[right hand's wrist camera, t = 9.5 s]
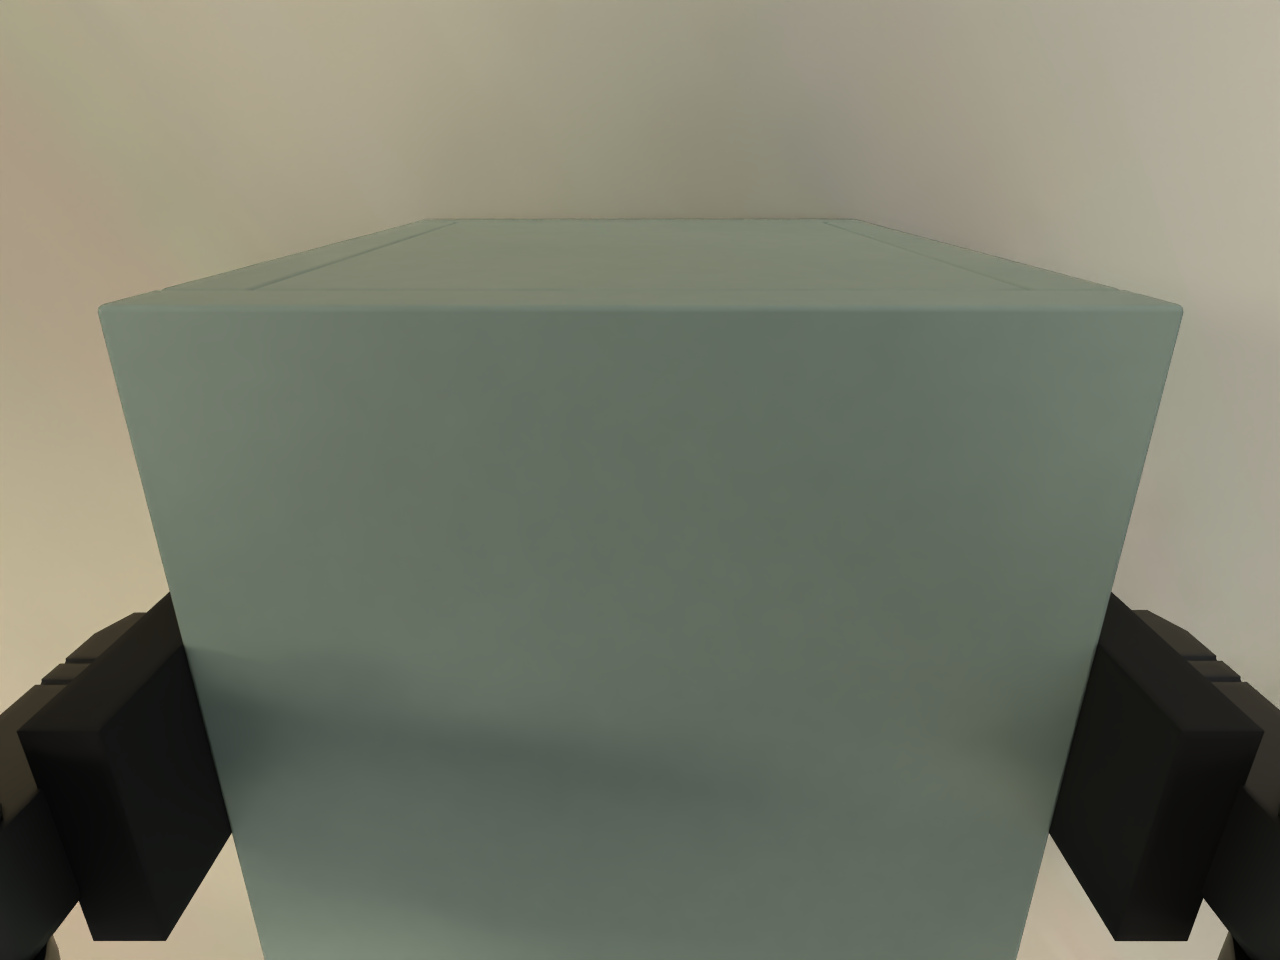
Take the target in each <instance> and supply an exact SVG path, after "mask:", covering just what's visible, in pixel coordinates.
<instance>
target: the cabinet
mask: <svg viewBox="0 0 1280 960" xmlns="http://www.w3.org/2000/svg"><path fill="white" fill-rule="evenodd" d="M98 314H99V318H100V322H101V326H102V330H103V334H104V338H105V342H106V346H107V349H108V353H109V357H110V361H111V365H112V369H113V373H114V377H115V380H116V384H117V388H118V392H119V396H120V400H121V404H122V408H123V411H124V415H125V419H126V423H127V427H128V431H129V435H130V439H131V442H132V446H133V450H134V454H135V458H136V462H137V466H138V470H139V474H140V477H141V481H142V485H143V489H144V493H145V497H146V501H147V505H148V508H149V512H150V516H151V520H152V524H153V528H154V532H155V536H156V539H157V543H158V547H159V551H160V555H161V559H162V563H163V567H164V571H165V574H166V578H167V582H168V586H169V590H170V594H171V598H172V602H173V605H174V609H175V613H176V617H177V621H178V625H179V629H180V633H181V636H182V640H183V644H184V648H185V652H186V656H187V660H188V664H189V668H190V671H191V675H192V679H193V683H194V687H195V691H196V695H197V699H198V702H199V706H200V710H201V714H202V718H203V722H204V726H205V730H206V733H207V737H208V741H209V745H210V749H211V753H212V757H213V761H214V765H215V768H216V772H217V776H218V780H219V784H220V788H221V792H222V796H223V799H224V803H225V807H226V811H227V815H228V819H229V823H230V827H231V830H232V834H233V838H234V842H235V846H236V850H237V854H238V858H239V862H240V865H241V869H242V873H243V877H244V881H245V885H246V889H247V893H248V896H249V900H250V904H251V908H252V912H253V916H254V920H255V924H256V927H257V931H258V935H259V939H260V943H261V947H262V951H263V955H264V959H265V960H1016V958H1017V954H1018V950H1019V946H1020V942H1021V938H1022V935H1023V931H1024V927H1025V923H1026V919H1027V915H1028V911H1029V907H1030V904H1031V900H1032V896H1033V892H1034V888H1035V884H1036V880H1037V876H1038V873H1039V869H1040V865H1041V861H1042V857H1043V853H1044V849H1045V846H1046V842H1047V838H1048V834H1049V830H1050V826H1051V822H1052V818H1053V815H1054V811H1055V807H1056V803H1057V799H1058V795H1059V791H1060V787H1061V784H1062V780H1063V776H1064V772H1065V768H1066V764H1067V760H1068V757H1069V753H1070V749H1071V745H1072V741H1073V737H1074V733H1075V729H1076V726H1077V722H1078V718H1079V714H1080V710H1081V706H1082V702H1083V698H1084V695H1085V691H1086V687H1087V683H1088V679H1089V675H1090V671H1091V668H1092V664H1093V660H1094V656H1095V652H1096V648H1097V644H1098V640H1099V637H1100V633H1101V629H1102V625H1103V621H1104V617H1105V613H1106V609H1107V606H1108V602H1109V598H1110V594H1111V590H1112V586H1113V582H1114V579H1115V575H1116V571H1117V567H1118V563H1119V559H1120V555H1121V551H1122V548H1123V544H1124V540H1125V536H1126V532H1127V528H1128V524H1129V520H1130V517H1131V513H1132V509H1133V505H1134V501H1135V497H1136V493H1137V489H1138V486H1139V482H1140V478H1141V474H1142V470H1143V466H1144V462H1145V459H1146V455H1147V451H1148V447H1149V443H1150V439H1151V435H1152V431H1153V428H1154V424H1155V420H1156V416H1157V412H1158V408H1159V404H1160V400H1161V397H1162V393H1163V389H1164V385H1165V381H1166V377H1167V373H1168V370H1169V366H1170V362H1171V358H1172V354H1173V350H1174V346H1175V342H1176V339H1177V335H1178V331H1179V327H1180V323H1181V319H1182V315H1183V308H1182V307H1181V306H1180V305H1178V304H1175V303H1171V302H1167V301H1163V300H1159V299H1156V298H1152V297H1148V296H1144V295H1140V294H1137V293H1133V292H1129V291H1120V290H1118V289H1116V288H1112V287H1109V286H1105V285H1101V284H1097V283H1093V282H1090V281H1086V280H1082V279H1078V278H1074V277H1071V276H1067V275H1063V274H1059V273H1056V272H1052V271H1048V270H1044V269H1040V268H1037V267H1033V266H1029V265H1025V264H1021V263H1018V262H1014V261H1010V260H1006V259H1002V258H999V257H995V256H991V255H987V254H984V253H980V252H976V251H972V250H968V249H965V248H961V247H957V246H953V245H949V244H946V243H942V242H938V241H934V240H931V239H927V238H923V237H919V236H915V235H912V234H908V233H904V232H900V231H896V230H893V229H889V228H885V227H881V226H877V225H874V224H870V223H866V222H863V221H860V220H856V219H425V220H421V221H417V222H414V223H410V224H407V225H403V226H399V227H395V228H391V229H388V230H384V231H380V232H376V233H373V234H369V235H365V236H361V237H357V238H354V239H350V240H346V241H342V242H339V243H335V244H331V245H327V246H323V247H320V248H316V249H312V250H308V251H304V252H301V253H297V254H293V255H289V256H286V257H282V258H278V259H274V260H270V261H267V262H263V263H259V264H255V265H252V266H248V267H244V268H240V269H236V270H233V271H229V272H225V273H221V274H218V275H214V276H210V277H206V278H202V279H199V280H195V281H191V282H187V283H183V284H180V285H176V286H172V287H168V288H165V289H163V290H156V291H152V292H148V293H144V294H141V295H137V296H133V297H129V298H126V299H122V300H118V301H114V302H110V303H107V304H104V305H101V306H100V307H99V308H98Z"/></svg>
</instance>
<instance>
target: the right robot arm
mask: <svg viewBox="0 0 1280 960" xmlns="http://www.w3.org/2000/svg"><path fill="white" fill-rule="evenodd" d="M231 833H232V830H231V827H230V823H229V819H228V815H227V811H226V807H225V803H224V799H223V796H222V792H221V788H220V784H219V780H218V776H217V772H216V768H215V765H214V761H213V757H212V753H211V749H210V745H209V741H208V737H207V733H206V730H205V726H204V722H203V718H202V714H201V710H200V706H199V702H198V699H197V695H196V691H195V687H194V683H193V679H192V675H191V671H190V668H189V664H188V660H187V656H186V652H185V648H184V644H183V640H182V636H181V633H180V629H179V625H178V621H177V617H176V613H175V609H174V605H173V602H172V598H171V594H170V592H169V593H168V594H167V595H166V596H164V597H163V598H162V599H161V600H160V601H159V602H158V603H157V604H156V605H155V606H153V607H152V608H151V609H150V610H149V611H148V612H147V613H133V614H131V615H129V616H127V617H125V618H123V619H121V620H120V621H118V622H116V623H114V624H112V625H110V626H108V627H106V628H105V629H103V630H101V631H99V632H97V633H95V634H94V635H93V636H91V637H90V638H89V639H88V640H87V641H86V642H84V643H83V644H82V645H81V646H80V647H79V648H77V649H76V650H75V651H74V652H73V653H72V654H71V655H69V656H68V657H67V658H66V662H65V664H59V665H58V666H57V667H55V668H54V669H53V670H52V671H51V672H50V673H48V674H47V675H46V676H45V677H44V678H43V679H42V682H41V685H35V686H33V687H32V688H31V689H30V690H29V691H28V692H26V693H25V694H24V695H23V696H22V697H21V698H19V699H18V700H17V701H16V702H15V703H14V704H12V705H11V706H10V707H9V708H8V709H7V710H5V711H4V712H3V713H2V714H1V715H0V960H60V955H59V950H58V947H57V944H56V942H55V939H54V937H53V934H54V932H55V931H56V930H57V928H58V927H59V926H60V924H61V923H62V922H63V921H64V919H65V918H66V917H67V915H68V914H69V913H70V911H71V910H72V909H73V907H74V906H75V905H76V903H77V902H78V901H79V902H80V905H81V908H82V911H83V913H84V916H85V919H86V921H87V924H88V927H89V930H90V932H91V935H92V938H93V940H94V941H166V940H167V938H168V936H169V935H170V933H171V931H172V930H173V928H174V927H175V925H176V923H177V922H178V920H179V918H180V917H181V915H182V913H183V912H184V910H185V909H186V907H187V905H188V904H189V902H190V900H191V899H192V897H193V895H194V894H195V892H196V891H197V889H198V887H199V886H200V884H201V882H202V881H203V879H204V877H205V876H206V874H207V872H208V871H209V869H210V868H211V866H212V864H213V863H214V861H215V859H216V858H217V856H218V854H219V853H220V851H221V850H222V848H223V846H224V845H225V843H226V841H227V840H228V838H229V836H230V835H231ZM1049 833H1050V835H1051V837H1052V838H1053V840H1054V842H1055V843H1056V845H1057V847H1058V848H1059V850H1060V851H1061V853H1062V855H1063V856H1064V858H1065V860H1066V861H1067V863H1068V865H1069V866H1070V868H1071V869H1072V871H1073V873H1074V874H1075V876H1076V878H1077V879H1078V881H1079V883H1080V884H1081V886H1082V888H1083V889H1084V891H1085V892H1086V894H1087V896H1088V897H1089V899H1090V901H1091V902H1092V904H1093V906H1094V907H1095V909H1096V910H1097V912H1098V914H1099V915H1100V917H1101V919H1102V920H1103V922H1104V924H1105V925H1106V927H1107V928H1108V930H1109V932H1110V933H1111V935H1112V937H1113V938H1114V940H1115V941H1188V938H1189V935H1190V933H1191V930H1192V927H1193V924H1194V922H1195V919H1196V916H1197V914H1198V911H1199V908H1200V905H1201V903H1202V900H1203V898H1204V899H1205V901H1206V902H1207V903H1208V905H1209V906H1210V907H1211V908H1212V910H1213V911H1214V912H1215V914H1216V915H1217V916H1218V918H1219V919H1220V920H1221V922H1222V923H1223V924H1224V925H1225V927H1226V928H1227V929H1228V931H1229V932H1228V934H1227V937H1226V939H1225V942H1224V944H1223V947H1222V949H1221V952H1220V955H1219V957H1218V960H1280V710H1279V709H1278V708H1277V707H1275V706H1274V705H1273V704H1272V703H1271V702H1270V701H1268V700H1267V699H1266V698H1265V697H1264V696H1263V695H1261V694H1260V693H1259V692H1258V691H1257V690H1256V689H1254V688H1253V687H1252V686H1251V685H1250V684H1249V683H1247V682H1241V679H1240V676H1239V675H1238V674H1237V673H1236V672H1234V671H1233V670H1232V669H1231V668H1230V667H1229V666H1227V665H1226V664H1225V663H1224V662H1223V661H1217V659H1216V655H1215V654H1213V653H1212V652H1211V651H1210V650H1209V649H1208V648H1206V647H1205V646H1204V645H1203V644H1202V643H1201V642H1199V641H1198V640H1197V639H1196V638H1195V637H1194V636H1192V635H1191V634H1190V633H1189V632H1188V631H1186V630H1184V629H1182V628H1180V627H1178V626H1177V625H1175V624H1173V623H1171V622H1169V621H1167V620H1165V619H1163V618H1161V617H1159V616H1158V615H1156V614H1154V613H1152V612H1150V611H1148V610H1131V609H1130V608H1129V607H1127V606H1126V605H1125V604H1124V603H1123V602H1122V601H1121V600H1120V599H1119V598H1118V597H1116V596H1115V595H1114V594H1113V593H1112V592H1111V594H1110V598H1109V602H1108V606H1107V609H1106V613H1105V617H1104V621H1103V625H1102V629H1101V633H1100V637H1099V640H1098V644H1097V648H1096V652H1095V656H1094V660H1093V664H1092V668H1091V671H1090V675H1089V679H1088V683H1087V687H1086V691H1085V695H1084V698H1083V702H1082V706H1081V710H1080V714H1079V718H1078V722H1077V726H1076V729H1075V733H1074V737H1073V741H1072V745H1071V749H1070V753H1069V757H1068V760H1067V764H1066V768H1065V772H1064V776H1063V780H1062V784H1061V787H1060V791H1059V795H1058V799H1057V803H1056V807H1055V811H1054V815H1053V818H1052V822H1051V826H1050V830H1049Z"/></svg>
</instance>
